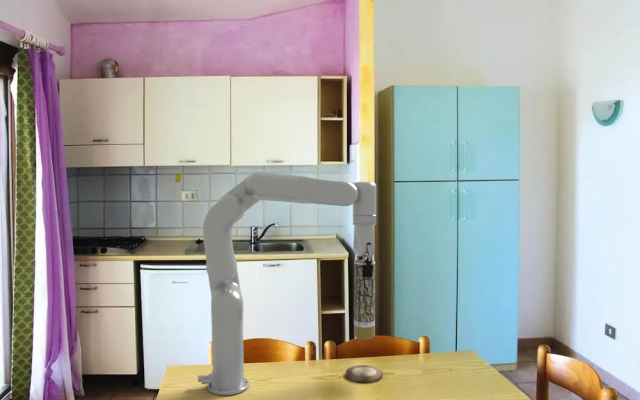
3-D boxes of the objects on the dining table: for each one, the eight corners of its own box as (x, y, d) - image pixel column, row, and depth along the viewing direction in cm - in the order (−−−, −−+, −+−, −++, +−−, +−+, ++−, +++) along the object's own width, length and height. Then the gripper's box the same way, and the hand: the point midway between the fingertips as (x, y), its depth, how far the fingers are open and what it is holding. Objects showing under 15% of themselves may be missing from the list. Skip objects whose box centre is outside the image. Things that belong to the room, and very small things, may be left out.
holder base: (350, 384, 168) (350, 380, 167) (342, 370, 179) (342, 366, 179) (387, 381, 170) (387, 377, 170) (376, 367, 181) (376, 363, 181)
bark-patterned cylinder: (373, 341, 170) (374, 263, 168) (352, 339, 171) (352, 262, 169) (375, 334, 176) (376, 259, 175) (355, 333, 178) (355, 259, 176)
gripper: (347, 217, 179) (347, 270, 180) (360, 223, 162) (359, 280, 163) (368, 217, 180) (368, 269, 182) (383, 222, 163) (383, 279, 165)
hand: (364, 274), depth 172 cm, fingers closed on bark-patterned cylinder, 6 cm apart
